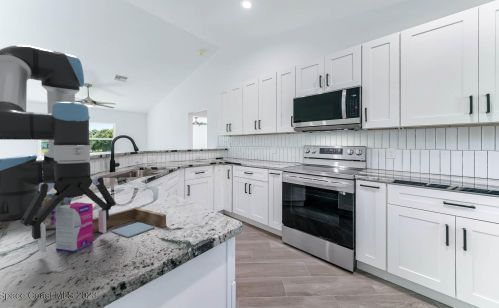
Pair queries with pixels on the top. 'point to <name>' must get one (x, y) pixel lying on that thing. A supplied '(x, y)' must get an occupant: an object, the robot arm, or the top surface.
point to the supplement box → (74, 226)
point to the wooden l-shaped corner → (132, 218)
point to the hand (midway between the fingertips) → (75, 240)
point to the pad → (132, 229)
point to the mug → (51, 218)
